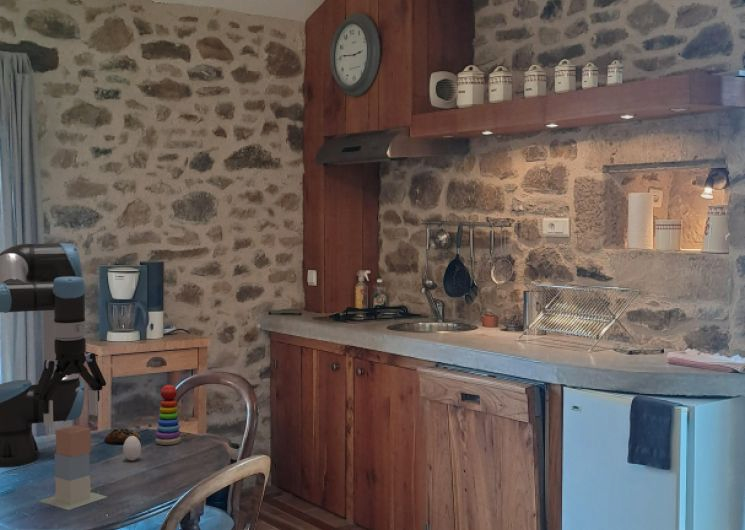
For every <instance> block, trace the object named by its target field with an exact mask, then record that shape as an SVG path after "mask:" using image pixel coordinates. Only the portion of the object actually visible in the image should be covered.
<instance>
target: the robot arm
mask: <svg viewBox="0 0 745 530" xmlns="http://www.w3.org/2000/svg"><path fill="white" fill-rule="evenodd" d="M85 285H86V284H85V279H84V278H83V272H82V263H81V258H80V254H79V250H78V247H77V246H76V245H75V244H73V243H67V242H65V243H64V242H63V243H62V242H58V243H57V242H56V243H54V242H53V243H20V244H16V245H13V246H10V247H8V248H6V249H4V250H3V251H1V252H0V313H4V314H7V313H21V312H22V313H24V312H42V341H43V342H42V345H43V349H42V350H43V370H42V372H41V375H40V376H39V377H38V383H37V384H32V381H31V380H30V379H18V380H12V381H11V380H10V381H7V382H3V383H0V468H1V467H16V466H23V465H26V464H31V463H33V462H35V461H37V460H39V458H40V450H39V447H38V444H37V442H36V439H35V436H34V434H33V424H43V426H45V427H49V428H52V427H54V422H66V421H72V420H73V421H74V420H77V419H79V418H80V417H81V415H82V412H83V408H84V401H85V388H86V387H85V383H86V385H88V386H89V387H90V389H88V392H87V393H88V394H87V395H88V415H91V416H95V417H96V416H98V415H99V404H98V403H99V402H100V398H101V397H100V391H102V390H103V387H106V386H107V382H106V379H105V377H104V375H103V373H102V371H101V369H100V367H99V365H98V361H97V357H96V354H95V353H93V352H86V351H87V350H86V349H87V347H86V346H87V344H86V343H87V342H86V341H87V340H86V338H85V336H86V310H85V309H86V287H85ZM85 363H86V364H87V366H88V368H87V367H86V365H84V364H85ZM88 369H89V370H88ZM89 371H90V372H89ZM80 377H82V379H83V380H84V381H85V382H84V381H83V380H80Z"/></svg>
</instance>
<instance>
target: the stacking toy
mask: <svg viewBox="0 0 745 530" xmlns="http://www.w3.org/2000/svg"><path fill="white" fill-rule="evenodd" d="M177 395H178V391H177V388H176V387H175V386H174V385H172V384H166V385H164V386H163V387H162V388H161V390H160V397H161V398H162V400H161V401H160V407H159V415H158V417H159V419H158V421H157V423H158V425H157V431H156V433H155V436H156V437H155V442H156V444H158V445H159V446H172V445H173V446H174V445H177V444H179V443H180V442H181V440H182V437H181V431H180V427H181V426H180V425H179V422H180V419H179V418H178V417H179V413H178V407H177V406H176V405H177V403H178V401H177V400H176V399H175V398H176V397H177Z"/></svg>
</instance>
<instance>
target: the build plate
mask: <svg viewBox="0 0 745 530" xmlns="http://www.w3.org/2000/svg"><path fill="white" fill-rule="evenodd" d="M90 495H91V498H88V499H85V500H82V501H79V502H76V503H73V504H68V503H65V502H61V501H58V500H56V495H52V496H50V497H47V498H43V499H40V500H39V502H40V503H43V504H46V505H50V506H53V507H57V508H60V509H64V510H68V511H70V510H73V509H76V508H79V507H82V506H86V505H88V504H91V503H93V502H97V501H99V500H103V499H105V498H108V496H106V495H102V494H99V493H96V492H92V491H90Z"/></svg>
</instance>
